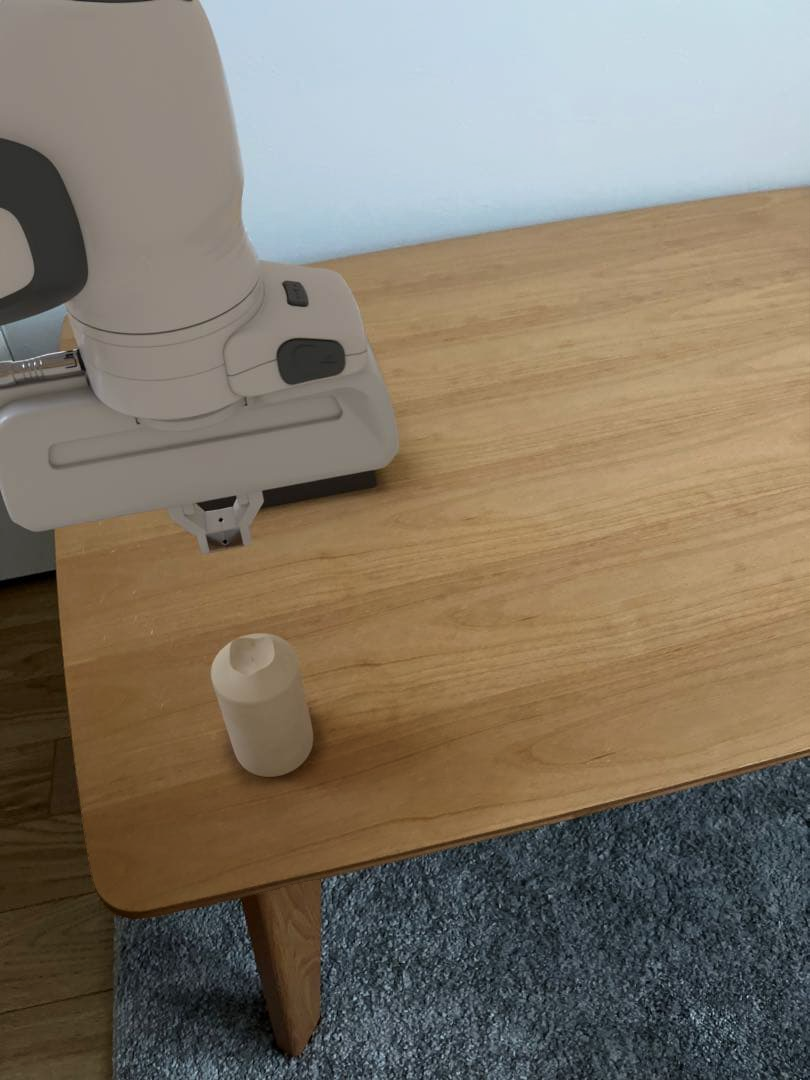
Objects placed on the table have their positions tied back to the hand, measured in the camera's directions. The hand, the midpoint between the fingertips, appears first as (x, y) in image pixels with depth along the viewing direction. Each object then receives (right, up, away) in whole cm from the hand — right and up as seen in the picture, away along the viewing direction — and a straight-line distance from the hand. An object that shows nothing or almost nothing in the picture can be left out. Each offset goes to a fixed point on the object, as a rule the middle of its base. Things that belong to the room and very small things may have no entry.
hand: (226, 542), depth 57 cm
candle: (+1, -14, +12) cm, 19 cm away
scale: (-2, +8, +34) cm, 35 cm away
